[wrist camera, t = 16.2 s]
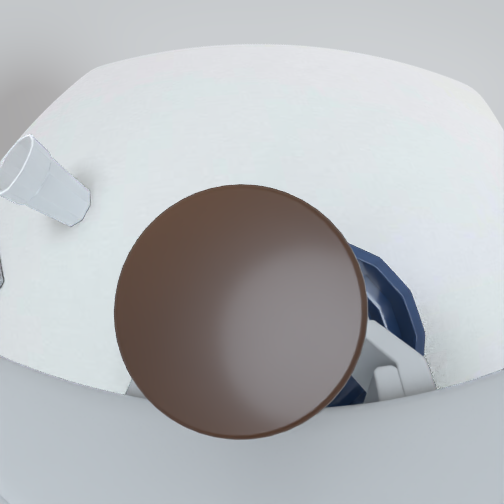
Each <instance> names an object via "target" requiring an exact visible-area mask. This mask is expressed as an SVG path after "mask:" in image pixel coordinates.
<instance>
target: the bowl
mask: <svg viewBox="0 0 504 504" xmlns="http://www.w3.org/2000/svg"><path fill="white" fill-rule="evenodd" d="M348 244H349V243H348ZM349 245H350V247H351V248H352V250H353V252H354V254H355V256H356V258H357V260H358V262H359V265H360V268H361V271H362V274H363V277H364V280H365V286H366V292H367V298H368V317H369V320H375V321H376V322H377V323H379V324H380V325H382V326H383V327H384V328H386V329H387V330H388V331H390V332H391V333H392V334H394V335H395V336H397V337H398V338H399V339H401V340H402V341H403V342H405V343H406V344H407V345H409V346H410V347H412V348H413V349H414V350H416V351H417V352H418V353H420V354H421V355H422V356H424V347H425V331H424V328H423V325H422V322H421V319H420V316H419V313H418V310H417V307H416V304H415V301H414V299H413V296H412V293H411V291H410V290H409V288H408V287H407V286H406V285H405V284H404V283H403V282H402V281H401V280H400V278H399V277H398V276H397V275H396V274H395V273H394V272H393V271H392V270H391V269H390V268H389V266H388V265H387V264H386V263H385V262H384V261H383V260H382V259H381V258H380V257H378V256H376V255H374V254H371V253H369V252H367V251H365V250H363V249H360V248H358V247H356V246H354V245H352V244H349ZM366 394H367V393H366V391H365V390H364V389H363V388H362V387H361V386H360V384H359V383H358V382H357V381H356V380H355V379H354V378H353V376H352V375H351V376H350V378H349V380H348V381H347V383H346V385H345V386H344V387H343V389H342V390H341V391H340V392H339V394H338V395H337V396H336V397H335V398H334V400H333V401H332V402H331V403H330V404H328V405H327V406H326V407H338V406H347V405H356V404H363V403H364V400H365V397H366ZM326 407H325V408H326Z"/></svg>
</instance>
